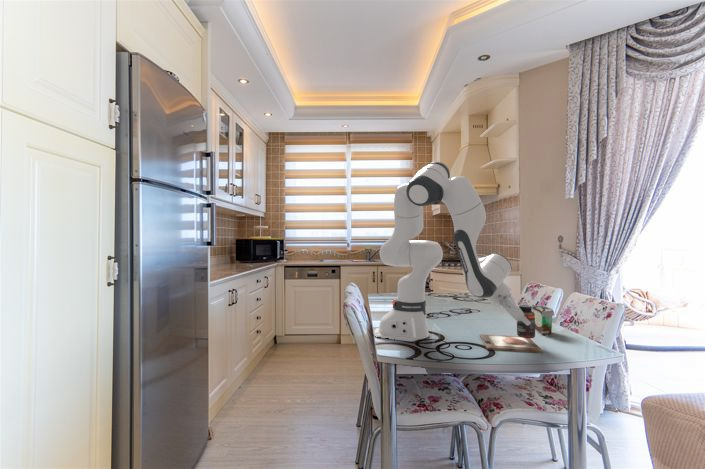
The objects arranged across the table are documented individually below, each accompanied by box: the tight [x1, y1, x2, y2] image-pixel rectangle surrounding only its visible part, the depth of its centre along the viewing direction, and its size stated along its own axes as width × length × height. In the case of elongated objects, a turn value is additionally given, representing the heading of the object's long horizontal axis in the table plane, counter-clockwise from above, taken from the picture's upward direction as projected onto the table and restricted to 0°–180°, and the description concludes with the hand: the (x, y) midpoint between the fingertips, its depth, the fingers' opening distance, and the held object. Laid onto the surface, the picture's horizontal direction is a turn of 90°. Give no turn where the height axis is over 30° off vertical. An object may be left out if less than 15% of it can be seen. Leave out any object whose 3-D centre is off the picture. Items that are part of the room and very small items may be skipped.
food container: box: [531, 305, 555, 336], centre depth 135 cm, size 12×6×10 cm, turn 168°
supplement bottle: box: [516, 304, 536, 339], centre depth 119 cm, size 6×6×11 cm
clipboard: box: [479, 333, 544, 354], centre depth 120 cm, size 18×16×2 cm
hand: (527, 321), depth 119 cm, fingers closed on supplement bottle, 6 cm apart
